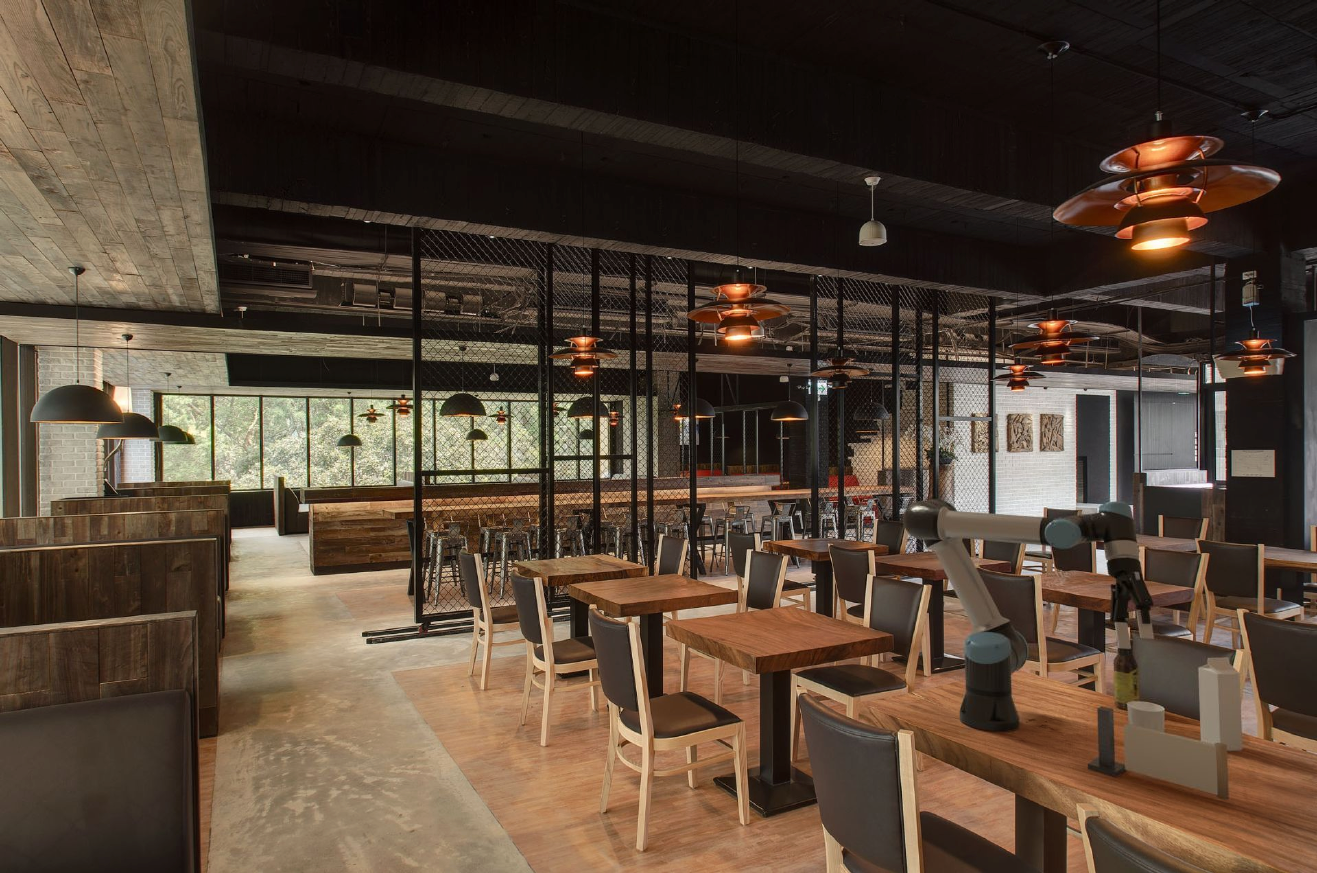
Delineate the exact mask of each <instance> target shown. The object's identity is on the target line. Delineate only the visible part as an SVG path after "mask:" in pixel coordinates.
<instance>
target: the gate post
mask: <svg viewBox="0 0 1317 873" xmlns="http://www.w3.org/2000/svg"><path fill="white" fill-rule="evenodd" d="M1096 711H1097V740H1098V756H1097V757H1095V758H1094V759H1093V760H1092V761H1090V762H1088V763H1087V770H1090V771H1094V772H1097V773H1100V774H1104V775H1107V776H1111V777H1114V778H1118V777H1119V776H1120V775H1122V774H1124V773H1125V772H1126V771H1127V770H1126V769H1125V763H1122V762H1116V758H1115V757H1116V755H1115V754H1116V753H1115V751H1116V750H1115V748H1116V747H1115V725H1114V724H1115V723H1114V722H1115V719H1114V718H1115V717H1114V708H1111V707H1108V706H1103V705H1101V706H1100V707H1097V710H1096Z"/></svg>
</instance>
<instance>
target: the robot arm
mask: <svg viewBox="0 0 1317 873" xmlns="http://www.w3.org/2000/svg"><path fill="white" fill-rule="evenodd" d="M902 523H903V527H904V529H905V530H906V532H907V533H908V534H909V535H910V536H911V537H912V538H915V539H917V540H923V542H924V544H925V547H926V548H927V550H929V551H931V552H934V553H935V555H936V557H937V559H938V561H939V563H940V565H941V567H942V569H943V571H944V573H945V574H946V577H947V579H948V580H949V582H950V584H951V586H952V588H953V590H954V592H955V594H956V596H957V598H958V601H959V602H960V604H961V606H962V608H963V610H964V612H965V615H966V616H967V618H968V620H969V622H970V624H971V626H972V630H971V633H970V634H969V635H967V637H966V638H965V640H964V646H963V651H964V652H963V653H964V670H965V671H964V672H965V673H964V676H965V692H964V696H963V698H962V702H961V705H960V708H959V721H960V722H961V723H963V724H964V725H966V726H968V727H971V728H974V729H978V730H982V731H989V732H1012V731H1015V730H1018V729H1019V728H1020V726H1021V723H1020V716H1019V713H1018V710H1017V707H1016V705H1015V704H1016V703H1015V702H1014V699H1013V695H1012V694H1013V693H1012V689H1013V688H1012V674H1014V673H1016V672H1017V671H1019V670H1020V669H1022V668H1023V667H1024V665H1025V664H1026V662H1027V660H1028V659H1029V654H1030V652H1029V651H1030V650H1029V644H1028V642H1027V641H1026V638H1025V637H1024V635H1022V634H1021V633H1020V632H1019V631H1017V630H1015V629H1014V628H1015V627H1014V626H1013V624H1012V623H1011V620H1010V619H1008V618H1006V617H1003V616H1002V615H1001V613H1000V612H999V609H998V607H997V605H996V604H995V601H994V599H993V597H992V595H991V594H990V592H989V590H988V588H987V586H986V585H985V582H984V580H983V579H982V577H981V575H980V573H979V570H978V569H977V567H976V565H975V563H974V561H973V560H972V558H971V555H970V554H969V552H968V549H967V548H966V546H965V544H964V542H963V539H969V540H979V541H980V540H981V541H991V542H1003V543H1011V544H1012V543H1013V544H1025V545H1038V546H1046V547H1053V548H1056V549H1060V550H1061V549H1062V550H1066V549H1071V548H1073V547H1075V546H1077V545H1080V544H1083V543H1084V544H1085V543H1095V542H1103V550H1104V556H1105V560H1106V561H1107V562H1106V568H1107V575H1109V577H1111V578H1114V579H1115V584H1113V583H1112V584H1110V594H1111V595H1110V611H1109V612H1110V614H1109V615H1110V616H1109V618H1110V619H1109V620H1110V622H1112V623H1113V624H1114V626H1115V628H1114V629H1115V634H1116V644H1117V643H1118V644H1117V649H1118V648H1123V649H1131V645H1130V639H1131V638H1130V633H1129V632H1130V631H1129V622H1128V620H1126V618H1127V614H1128V608H1129V602H1130V601H1131V600H1132V602H1133V603H1134V605H1135V607H1134V610H1136V611H1135V613H1136V618H1137V619H1136V620H1137V625H1138V633H1139V638H1140V639H1144V640H1145V639H1146V640H1154V639H1155V637H1154V630H1153V623H1152V618H1151V612H1150V611H1151V607H1153V606H1154V601H1153V599H1152V596H1151V593H1150V592H1149V589H1148V587H1147V585H1146V583H1145V580H1144V576H1143V569H1142V564H1141V561H1140V560H1139V559H1140V552H1141V549H1140V548H1139V547H1138V540H1137V533H1136V532H1137V531H1136V527H1135V526H1136V525H1135V519H1134V516H1133V512H1132V507H1131V505H1130V504H1128V503H1126V502H1123V501H1109V502H1105V503H1102V504H1100V505H1099V507H1098V511H1097V512H1095V513H1089V514H1078V515H1070V516H1060V517H1045V516H1031V515H1019V514H1017V515H1015V514H1004V513H1003V514H1000V513H990V512H987V513H986V512H976V511H974V512H972V511H958V510H957V508H956V507H955V506H954V505H953V504H952V503H951V502H949V501H946V500H944V499H943V500H942V499H939V498H933V499H928V500H919V501H914V502H913V503H911V504H909V506H908V507H906V509H905V510H904V512H903V515H902Z"/></svg>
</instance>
